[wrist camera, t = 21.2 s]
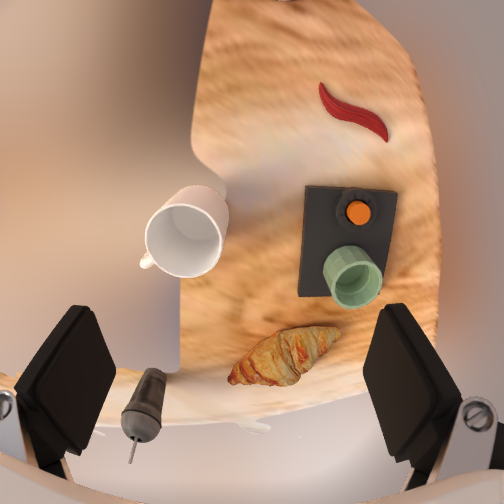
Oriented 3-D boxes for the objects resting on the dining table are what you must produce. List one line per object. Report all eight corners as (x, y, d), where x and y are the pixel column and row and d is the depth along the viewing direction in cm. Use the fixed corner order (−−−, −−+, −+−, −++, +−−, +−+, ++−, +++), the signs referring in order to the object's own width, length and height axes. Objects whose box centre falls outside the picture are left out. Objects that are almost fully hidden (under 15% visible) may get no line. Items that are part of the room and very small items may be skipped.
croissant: (326, 301, 48) (327, 309, 41) (351, 349, 47) (356, 366, 39) (222, 352, 52) (206, 367, 45) (248, 396, 51) (237, 416, 43)
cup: (241, 222, 39) (238, 253, 30) (173, 265, 42) (154, 304, 33) (206, 171, 36) (190, 186, 27) (138, 221, 39) (108, 250, 30)
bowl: (325, 243, 39) (335, 261, 34) (371, 244, 39) (387, 261, 34) (319, 288, 42) (328, 309, 37) (363, 287, 42) (376, 307, 37)
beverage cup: (176, 370, 51) (153, 460, 32) (170, 391, 54) (150, 474, 35) (139, 358, 50) (106, 444, 31) (136, 380, 53) (109, 460, 34)
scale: (305, 182, 37) (309, 187, 34) (393, 188, 37) (403, 193, 34) (297, 292, 44) (300, 303, 41) (376, 290, 44) (382, 300, 41)
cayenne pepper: (308, 93, 32) (311, 91, 31) (331, 70, 31) (335, 68, 29) (372, 158, 36) (377, 160, 34) (393, 135, 34) (399, 136, 32)
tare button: (347, 199, 35) (351, 203, 34) (367, 201, 35) (372, 204, 34) (345, 221, 36) (348, 224, 35) (365, 221, 36) (369, 225, 35)
